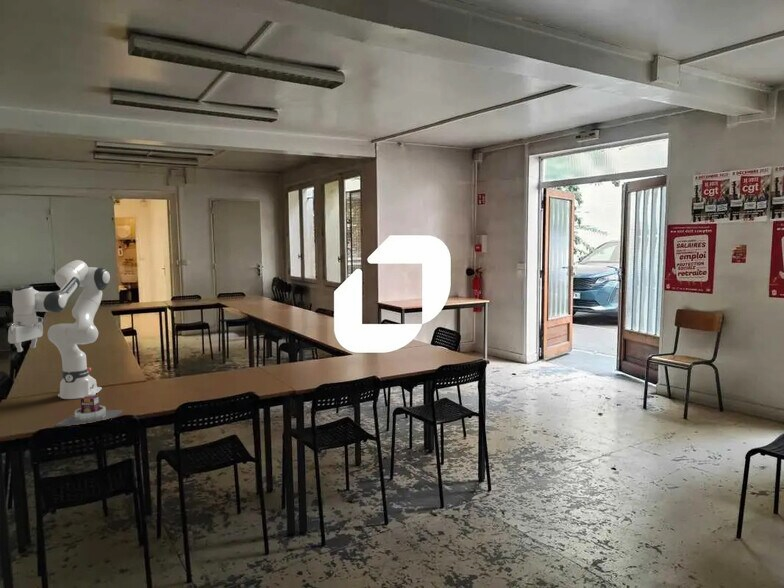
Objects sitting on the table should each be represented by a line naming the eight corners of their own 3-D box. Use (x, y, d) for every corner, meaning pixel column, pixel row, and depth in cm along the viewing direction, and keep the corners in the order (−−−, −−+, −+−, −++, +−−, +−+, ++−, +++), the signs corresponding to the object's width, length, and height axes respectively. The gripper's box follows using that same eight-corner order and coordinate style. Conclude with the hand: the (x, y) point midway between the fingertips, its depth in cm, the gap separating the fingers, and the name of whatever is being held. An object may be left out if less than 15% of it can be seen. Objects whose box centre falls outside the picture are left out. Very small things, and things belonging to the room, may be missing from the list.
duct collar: (80, 412, 256) (79, 403, 256) (122, 412, 257) (122, 402, 256) (55, 426, 236) (55, 416, 236) (101, 425, 237) (101, 415, 236)
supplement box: (81, 418, 244) (80, 398, 243) (86, 415, 249) (85, 395, 248) (94, 418, 244) (93, 398, 243) (99, 415, 249) (99, 395, 248)
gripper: (17, 323, 239) (19, 354, 240) (45, 317, 259) (46, 345, 261) (2, 323, 239) (4, 354, 240) (31, 317, 259) (33, 346, 260)
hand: (26, 349), depth 250 cm, fingers open, 8 cm apart
